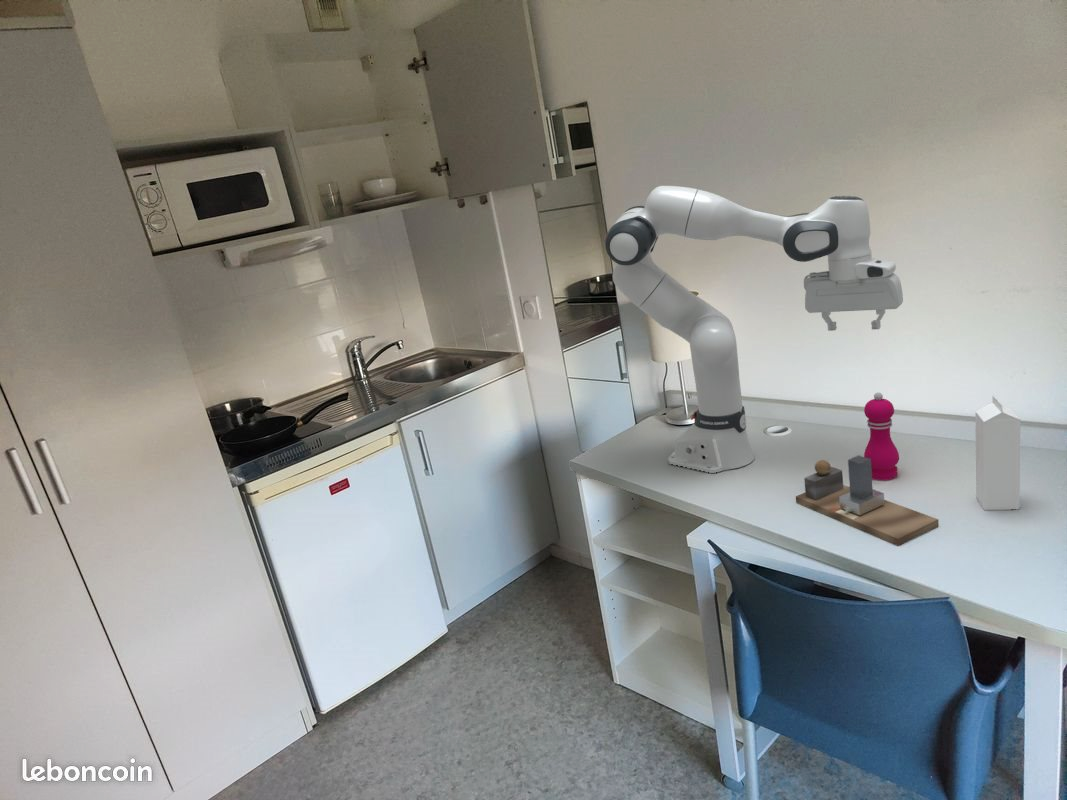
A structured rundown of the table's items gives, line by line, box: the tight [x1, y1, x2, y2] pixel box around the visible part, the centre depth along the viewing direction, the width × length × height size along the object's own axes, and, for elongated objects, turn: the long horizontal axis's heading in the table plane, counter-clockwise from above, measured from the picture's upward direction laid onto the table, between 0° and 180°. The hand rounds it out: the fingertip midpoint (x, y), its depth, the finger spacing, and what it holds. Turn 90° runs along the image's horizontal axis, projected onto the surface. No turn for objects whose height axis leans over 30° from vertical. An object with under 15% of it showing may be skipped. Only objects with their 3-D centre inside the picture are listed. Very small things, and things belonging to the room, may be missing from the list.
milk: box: [975, 395, 1021, 511], centre depth 134 cm, size 6×6×22 cm
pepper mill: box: [863, 392, 900, 481], centre depth 155 cm, size 7×7×20 cm
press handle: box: [839, 455, 885, 515], centre depth 141 cm, size 5×8×10 cm, turn 114°
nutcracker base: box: [795, 459, 939, 547], centre depth 142 cm, size 26×11×9 cm, turn 24°
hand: (853, 329), depth 157 cm, fingers open, 8 cm apart
